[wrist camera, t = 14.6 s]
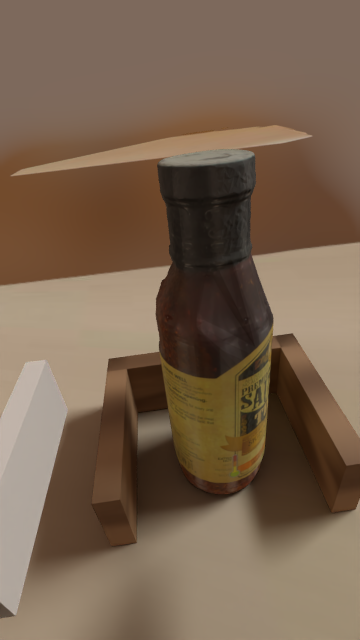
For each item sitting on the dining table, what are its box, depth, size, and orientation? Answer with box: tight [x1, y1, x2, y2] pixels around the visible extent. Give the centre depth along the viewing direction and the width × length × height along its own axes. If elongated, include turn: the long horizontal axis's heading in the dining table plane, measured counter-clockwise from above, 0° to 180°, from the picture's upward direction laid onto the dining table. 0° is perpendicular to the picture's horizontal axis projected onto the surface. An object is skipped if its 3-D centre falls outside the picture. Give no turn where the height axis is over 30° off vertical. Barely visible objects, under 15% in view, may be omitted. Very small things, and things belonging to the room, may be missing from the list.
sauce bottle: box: [156, 149, 273, 494], centre depth 19 cm, size 7×6×20 cm
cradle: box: [91, 333, 360, 546], centre depth 24 cm, size 12×15×5 cm
